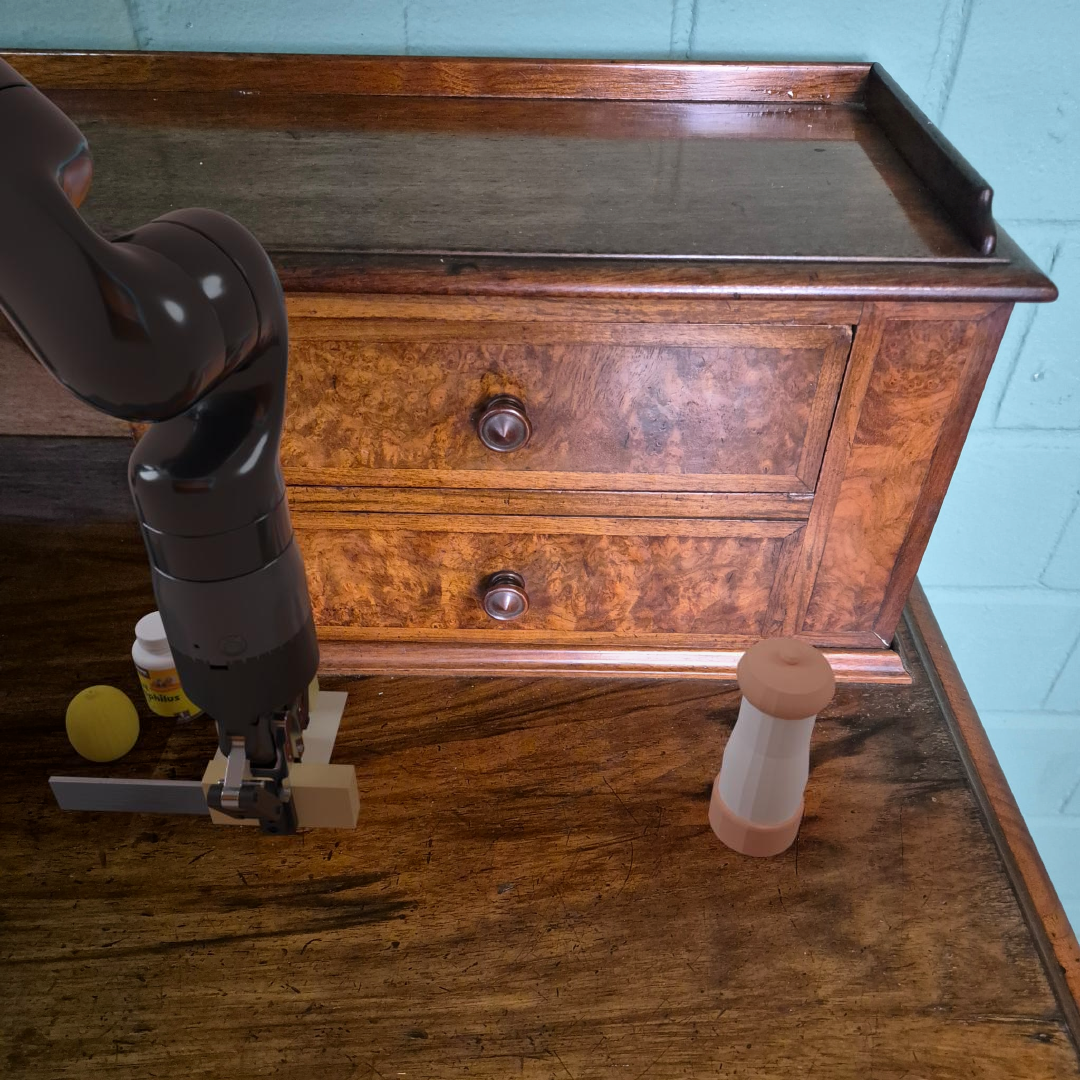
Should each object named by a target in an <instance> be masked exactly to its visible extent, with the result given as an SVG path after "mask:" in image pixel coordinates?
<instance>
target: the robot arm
mask: <svg viewBox="0 0 1080 1080" xmlns="http://www.w3.org/2000/svg"><path fill="white" fill-rule="evenodd" d="M94 170H95V161H94V155H93V151H92V148H91V145H90V144H89V142H88V140H87V138H86V137H85V135H84V134H83V132H82V131H81V129H79V127H78V126H77V125H76V124H75V123H74V122H73V121H72V120H71V119H70V118H69V116H67V115H66V113H65V112H63V110H61V109H60V108H59V107H58V106H57V105H56V104H55V103H53V102H52V101H51V100H50V99H49V98H48V97H47V96H46V95H45V94H43V93H42V92H41V91H40V90H38V88H37V87H36V86H35V85H33V83H31V82H30V81H29V80H28V79H27V78H25V76H23V75H22V74H20V72H18V71H17V69H15V68H14V67H13V66H11V65H10V63H8V62H7V61H6V60H5V59H3V57H1V56H0V310H1V312H2V313H3V315H4V316H5V317H6V318H7V319H8V321H9V322H10V324H11V325H12V327H13V328H14V329H15V330H16V332H17V333H18V334H19V336H20V337H21V338H22V340H23V341H24V343H25V344H26V345H27V347H28V348H29V349H30V351H31V352H32V354H33V355H34V356H35V358H36V359H37V360H38V361H39V362H40V364H41V365H42V366H43V367H44V369H46V371H47V372H48V374H49V375H50V376H51V377H52V378H53V379H54V380H55V381H56V383H58V384H60V386H61V387H62V388H63V389H65V391H66V392H68V393H69V394H71V395H72V396H73V397H74V398H76V399H78V400H79V401H80V402H82V403H83V404H85V405H87V406H89V407H90V408H92V409H94V410H96V411H98V412H100V413H103V414H105V415H107V416H110V417H112V418H115V419H118V420H123V421H125V422H130V423H135V424H147V425H149V426H148V427H147V429H146V431H145V432H144V433H143V435H142V436H141V437H140V439H139V441H138V442H137V443H136V445H135V447H134V449H133V450H132V452H131V455H130V457H129V460H128V463H127V481H128V482H127V483H128V488H129V493H130V497H131V501H132V504H133V508H134V511H135V514H136V518H137V521H138V525H139V528H140V533H141V535H142V538H143V542H144V545H145V548H146V553H147V554H148V561H149V564H150V565H149V566H150V573H151V581H152V589H153V595H154V599H155V602H156V605H157V610H158V611H159V613H160V617H161V620H162V623H163V627H164V630H165V633H166V637H167V640H168V643H169V647H170V650H171V654H172V657H173V660H174V664H175V667H176V670H177V674H178V677H179V681H180V684H181V687H182V690H183V692H184V694H185V695H186V697H187V698H188V699H189V700H190V701H191V702H192V703H193V704H194V705H195V706H197V707H198V708H200V709H201V710H203V711H204V713H205V714H207V715H208V716H210V718H212V719H213V720H215V728H216V732H217V736H218V737H217V738H218V747H219V748H220V751H221V753H222V754H223V755H224V756H225V757H226V758H228V763H227V769H226V775H225V779H220V780H219V781H218V784H211V785H210V787H209V789H208V792H207V805H208V807H209V808H212V809H214V810H216V811H218V812H221V813H223V814H225V815H227V816H230V817H232V818H234V819H242V820H244V819H258V820H259V824H260V825H259V827H260V831H261V832H262V834H263V835H264V836H270V837H271V836H273V837H274V836H275V837H289V836H293V835H295V834H296V833H297V830H298V828H299V827H298V823H299V822H298V817H297V813H296V808H295V804H294V799H293V794H292V789H291V784H290V778H289V774H290V771H291V768H292V765H293V763H302V762H301V758H302V755H303V753H304V749H305V747H304V743H303V738H302V732H303V730H306V729H307V727H308V724H309V721H310V717H309V685H310V683H311V682H312V680H313V679H314V677H315V675H316V673H317V672H318V670H319V667H320V662H321V661H320V659H321V653H320V647H319V641H318V636H317V630H316V629H317V628H316V623H315V618H314V612H313V607H312V599H311V594H310V589H309V583H308V575H307V571H306V566H305V561H304V557H303V554H302V550H301V547H300V545H299V543H298V540H297V537H296V534H295V530H294V525H293V520H292V514H291V509H290V508H291V507H290V501H289V497H288V492H287V491H288V490H287V484H286V479H285V475H284V471H283V466H282V461H281V449H282V440H283V434H284V433H283V432H284V426H285V419H286V405H287V391H288V389H287V388H288V374H289V357H290V330H289V329H290V327H289V325H290V324H289V316H288V308H287V302H286V297H285V293H284V290H283V286H282V283H281V280H280V277H279V275H278V273H277V270H276V268H275V265H274V263H273V262H272V260H271V258H270V256H269V255H268V253H267V251H266V250H265V249H264V247H263V246H262V244H261V242H260V241H259V239H257V237H255V235H254V234H253V233H252V232H250V231H249V230H248V229H247V227H245V226H244V225H243V224H241V222H239V221H237V220H236V219H235V218H234V217H232V216H230V215H228V214H226V213H224V212H222V211H218V210H215V209H212V208H206V207H198V206H197V207H194V206H192V207H184V208H179V209H176V210H171V211H168V212H165V213H163V214H161V215H159V216H157V217H155V218H153V219H151V220H149V221H147V222H145V223H143V224H141V225H139V226H137V227H135V228H134V229H131V230H129V231H127V232H126V233H124V234H122V235H120V236H118V237H116V238H114V239H112V240H111V241H109V240H107V239H105V237H103V236H101V235H100V234H99V233H97V232H96V231H95V229H93V228H92V227H91V226H90V225H89V224H88V223H87V222H86V220H85V219H84V217H82V215H81V214H80V213H79V211H78V209H79V208H80V207H81V205H82V204H83V202H84V200H85V199H86V196H87V194H88V192H89V190H90V188H91V185H92V181H93V178H94V172H95V171H94ZM317 674H318V673H317ZM257 777H260V778H271V779H273V780H258V779H257Z"/></svg>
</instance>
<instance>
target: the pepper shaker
mask: <svg viewBox="0 0 1080 1080" xmlns="http://www.w3.org/2000/svg"><path fill="white" fill-rule="evenodd" d="M735 676H736V680H737V683H738V687H739V690H740V692H741V694H742V698H741V702H740V708H739V713H738V716H737V717H738V718H737V721H736V723H735V725H734V727H733V728H732V729H733V730H732V732H731V734H730V736H729V738H728V741H727V743H726V745H725V747H724V749H723V756H722V761H721V762H722V763H721V769H720V770H719V772H717V774H716V776H715V778H714V781H713V786H712V791H711V796H710V803H709V808H708V813H707V815H708V819H709V825H710V827H711V829H712V831H713V832H714V834H715V836H716V837H717V838H718V839H719V840H720V842H722V843H723V844H724V845H725V846H727V848H729V849H731V850H733V851H735V852H737V853H739V854H741V855H745V856H749V857H754V858H769V857H773V856H777V855H779V854H781V853H784V852H785V851H786V850H788V849H789V848H790V847H791V846H792V844H793V843H794V841H795V840H796V837H797V835H798V831H799V827H800V824H801V821H802V818H803V813H804V810H805V796H804V793H805V789H806V786H807V783H808V780H809V770H810V742H811V740H812V739H811V738H812V735H813V730H814V727H815V722H816V719H817V714H818V713H820V712H821V711H823V710H824V709H826V707H827V706H829V704H830V703H831V702H832V699H833V698H834V696H835V694H836V676H835V673H834V670H833V668H832V665H831V664H830V662H829V660H828V659H827V658H826V657H825V656H824V654H823V653H822V652H821V651H820V650H819V649H818V648H816V647H815V646H813V645H811V644H810V643H807V642H806V641H803V640H800V639H796V638H792V637H787V636H772V637H769V638H766V639H762V640H759V641H758V642H757V643H755V644H753V645H752V646H750V647H748V648H747V649H746V651H745V652H744V653H743V655H742V656H741V658H740V659H739V661H738V663H737V665H736V672H735Z"/></svg>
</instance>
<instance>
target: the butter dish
mask: <svg viewBox="0 0 1080 1080" xmlns="http://www.w3.org/2000/svg"><path fill="white" fill-rule="evenodd" d="M348 695H349V692H348V691H331V690H330V691H329V690H327V691H326V690H319V691H318V694H317V697H316V700H315V703H314V707H313V710H312V711H309V717H310V721H309V724H308V727H307V729H306V730H303V734H304V739H303V743H304V747H305V749H304V753H303V755H302V758H301V762H302V763H307V764H330V760H331V757H332V753H333V749H334V745H335V741H336V738H337V734H338V731H339V727H340V725H341V720H342V717H343V713H344V709H345V706H346V703H347V698H348ZM212 760H219V761H227V760H228V758H226V757H225V756H224V755H223V754H222V753H221V751H220V748H219V746H218V747H217V749H216V752H215V755H214V757H213V759H212Z"/></svg>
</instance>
